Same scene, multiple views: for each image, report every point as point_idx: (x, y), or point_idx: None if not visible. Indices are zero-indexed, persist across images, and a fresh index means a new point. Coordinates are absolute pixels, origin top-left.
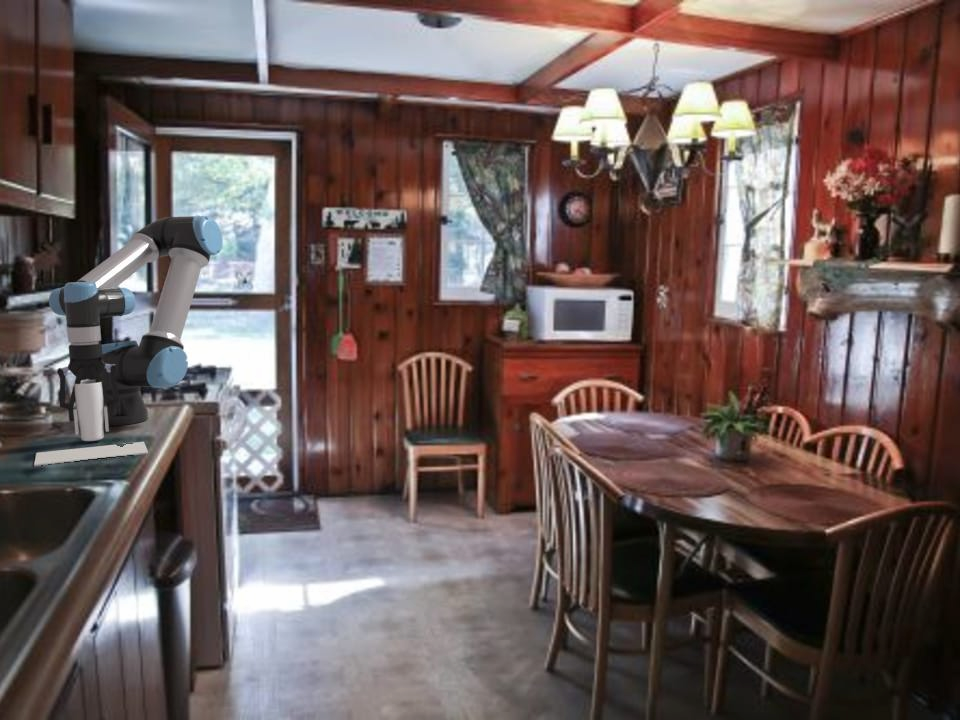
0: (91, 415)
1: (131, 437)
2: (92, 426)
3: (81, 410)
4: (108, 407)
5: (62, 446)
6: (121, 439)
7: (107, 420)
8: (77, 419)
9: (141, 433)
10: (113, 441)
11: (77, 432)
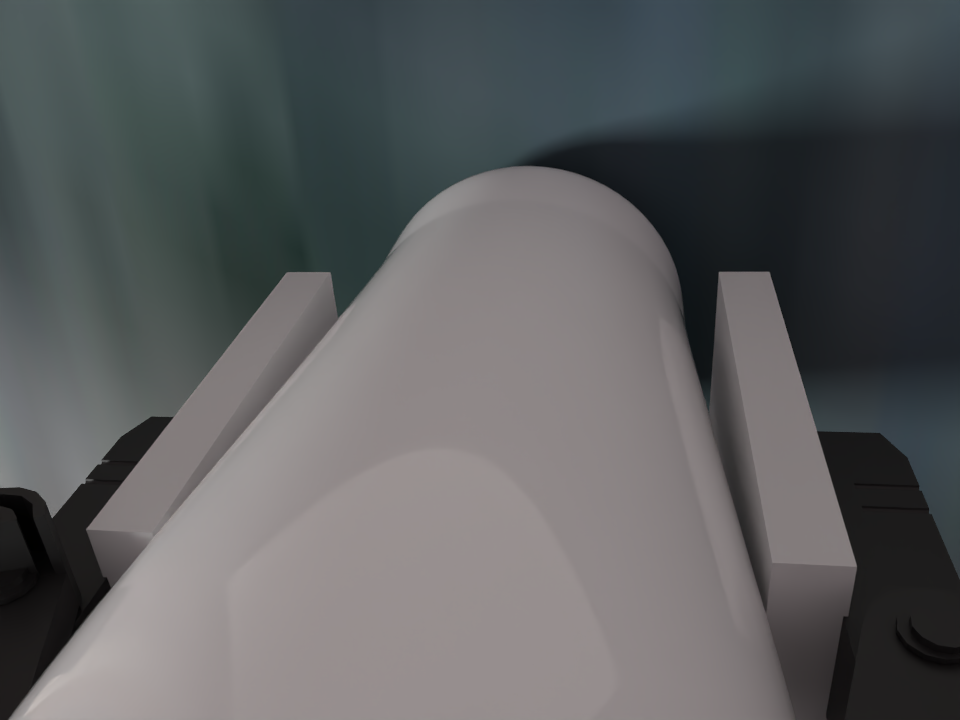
0: (447, 319)
1: (109, 311)
2: (485, 233)
3: (658, 454)
4: (93, 555)
5: (945, 182)
6: (204, 254)
7: (229, 359)
8: (745, 411)
9: (51, 459)
10: (284, 180)
11: (739, 285)
